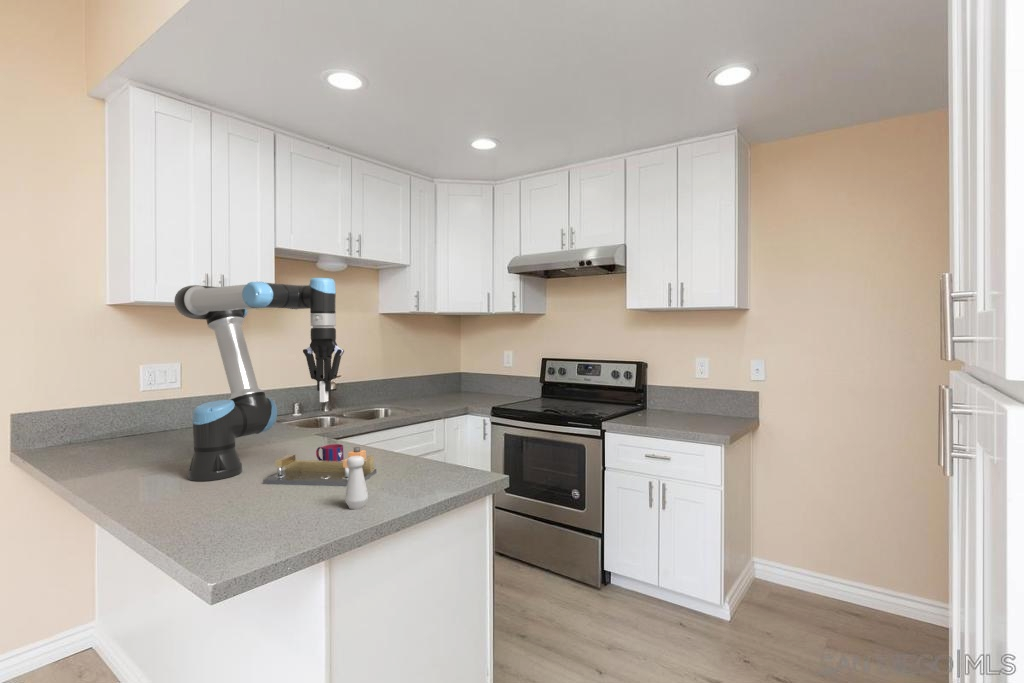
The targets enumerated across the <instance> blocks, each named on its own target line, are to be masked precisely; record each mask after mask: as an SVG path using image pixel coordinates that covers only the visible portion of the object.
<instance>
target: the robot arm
mask: <svg viewBox="0 0 1024 683" xmlns="http://www.w3.org/2000/svg"><path fill="white" fill-rule="evenodd" d="M336 293H337V292H336V282H335V280H334V279H333V278H330V277H329V278H327V277H313V278H310V279H309V284H308V285H307V284H305V285H302V284H301V285H299V284H298V285H297V284H288V283H287V284H286V283H284V284H283V283H272V282H264V281H249V282H248V283H247V284H238V285H237V284H236V285H227V286H211V285H210V286H209V285H197V284H195V285H187V286H183V287H182V288H180V289H179V290H178V291H177V292H176V293H175V296H174V300H173V302H174V305H175V306H174V307H175V308H176V310H177V311H178V313H180V314H181V315H182V316H184V317H185V318H188V319H191V320H206V324H207V328H208V329H210V330H212V331H213V332H214V334H215V338H216V341H217V342H216V343H217V345H218V350H219V354H220V357H221V360H222V365H223V368H224V372H225V375H226V379H227V383H228V387H229V390H230V394H231V395H230V397H229V398H228V399H219V400H213V401H209V402H205V403H201V404H200V405H197V406H196V407H195V408H194V409H193V411H192V420H191V422H192V426H193V427H192V432H193V437H192V438H193V454H192V458H191V462H190V465H189V469H188V470H187V474H188V476H187V478H188V480H190V481H194V482H208V481H215V480H216V481H217V480H223V479H227V478H232V477H235V476H237V475H239V474H241V473H242V472H243V464H242V461H241V460H240V456H239V454H238V451H237V448H236V439H237V438H241V437H247V436H251V435H255V434H256V435H257V434H258V435H259V434H260V433H263V432H267V431H269V430H270V429H272V428H273V426H274V425H275V424H276V421H277V418H278V408H277V404H276V402H275V401H274V400H273V399H272V398H269V397H267V395H266V394H265V391H264V390H262V389H260V388H259V386H258V382H257V378H256V374H255V371H254V367H253V364H252V363H253V362H252V360H251V356H250V353H249V350H248V346H247V341H246V337H245V335H244V330H243V326H242V325H243V323H244V322H245V318H246V316H247V315H248V312H249V311H248V310H249V309H265V308H266V309H289V310H301V309H302V310H303V309H304V310H305V309H310V312H309V314H310V316H309V317H310V327H312V328H310V340H311V341H310V344H309V346H308V347H307V348H304V349H303V350H302V353H303V354H304V356H305V358H306V359H305V360H306V362H307V366H308V371H309V375H310V378H311V380H314V381H316V390H317V392H319V403H327V402H329V392H331V390H332V388H331V386H332V385H331V382H332V380H335V379H337V376H338V373H339V369H340V368H339V367H340V363H341V359H342V356H343V354H344V352H345V349H343V348H340V347H339V346H338V344H337V342H336V339H337V330H336V328H335V326H336V325H337V320H336V319H337V318H336V313H337V312H336V300H337V299H336ZM313 353H314V354H313ZM333 353H334V355H333ZM314 355H315V356H314ZM332 355H333V356H332ZM332 358H333V359H332Z"/></svg>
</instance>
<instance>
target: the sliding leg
mask: <svg viewBox="0 0 1024 683" xmlns="http://www.w3.org/2000/svg"><path fill="white" fill-rule="evenodd" d="M366 452H367V451H366V449H364V450H363V449H362V450H361V447H360V446H356V447H353V450H351V451H349V452H348V453H347V458H345V459H344V461H343V467H345V477H348V475H349V468H350V467H348V466H347V459H348V458H349V457H352V456H362V457H363V458H364V461H367V453H366Z"/></svg>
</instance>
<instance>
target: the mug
mask: <svg viewBox="0 0 1024 683" xmlns="http://www.w3.org/2000/svg"><path fill="white" fill-rule="evenodd" d="M320 449H321V452H322V455H321V456H322V458H321V456H320V454H319V452H320ZM315 451H316V452H315V456H316V458H317V460H320V461H344V460H345V459H344V445H343V444H341V443H340V444H339V443H333V444H332V443H331V444H327V445H326V444H325V445H324V446H319V447H317V448H316V450H315Z"/></svg>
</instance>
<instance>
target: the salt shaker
mask: <svg viewBox="0 0 1024 683" xmlns="http://www.w3.org/2000/svg"><path fill="white" fill-rule="evenodd" d="M347 458H348V457H347ZM347 458H346V459H347ZM364 461H365V460H364V458H363V457H362V456H352V457H349V458H348V459H347V466H348V467H350V468H349V475H348V482H347V486H346V490H345V496H344V501H345V503H346V504H347V507H348V508H349V509H350V510H358V509H362V508H364V507H365V506H366V504H367V501H368V498H369V493H368V489H367V484H366V481H365V478H364V473H363V469H362V466H363V465H364Z"/></svg>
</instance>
